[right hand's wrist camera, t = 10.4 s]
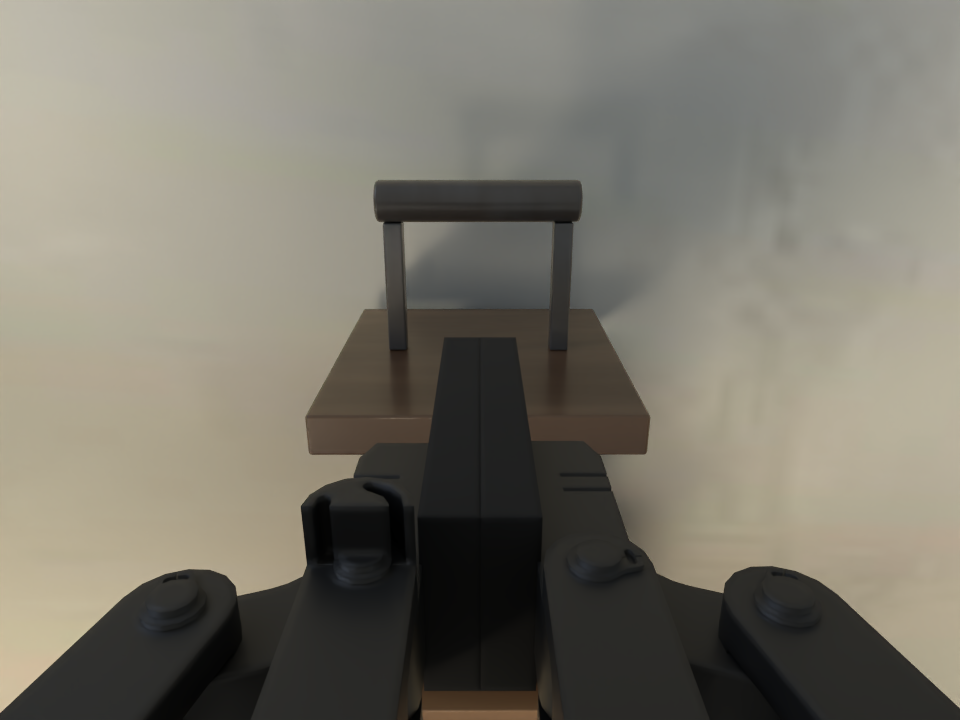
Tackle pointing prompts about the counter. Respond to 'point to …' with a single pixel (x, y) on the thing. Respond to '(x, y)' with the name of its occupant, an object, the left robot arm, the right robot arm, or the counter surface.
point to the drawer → (477, 335)
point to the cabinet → (480, 705)
